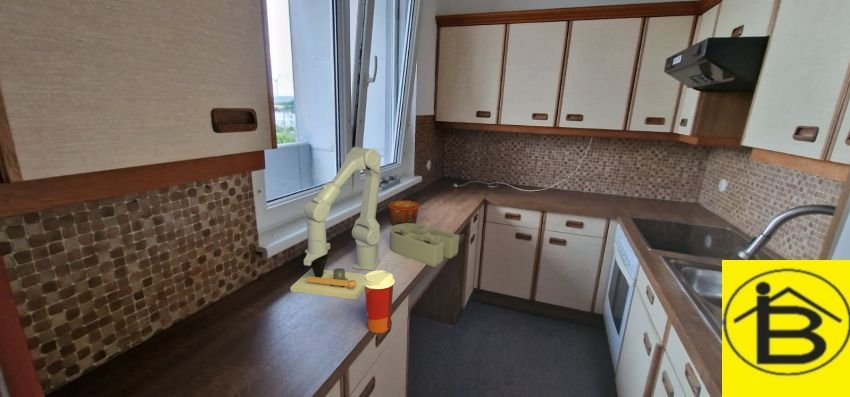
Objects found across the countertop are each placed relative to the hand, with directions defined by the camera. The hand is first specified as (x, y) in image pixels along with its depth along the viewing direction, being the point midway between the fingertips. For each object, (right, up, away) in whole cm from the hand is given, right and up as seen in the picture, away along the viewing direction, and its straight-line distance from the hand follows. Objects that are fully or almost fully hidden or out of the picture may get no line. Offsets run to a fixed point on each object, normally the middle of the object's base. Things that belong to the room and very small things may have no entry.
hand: (318, 276), depth 117 cm
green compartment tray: (+33, +3, +30) cm, 45 cm away
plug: (+7, -3, -1) cm, 8 cm away
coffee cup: (+23, -9, -21) cm, 33 cm away
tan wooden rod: (+5, -1, -4) cm, 7 cm away
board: (+4, -3, 0) cm, 5 cm away
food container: (+24, +13, +65) cm, 71 cm away
